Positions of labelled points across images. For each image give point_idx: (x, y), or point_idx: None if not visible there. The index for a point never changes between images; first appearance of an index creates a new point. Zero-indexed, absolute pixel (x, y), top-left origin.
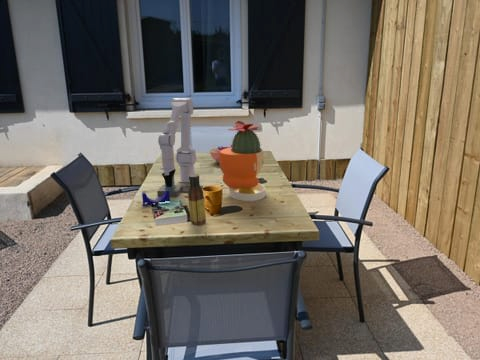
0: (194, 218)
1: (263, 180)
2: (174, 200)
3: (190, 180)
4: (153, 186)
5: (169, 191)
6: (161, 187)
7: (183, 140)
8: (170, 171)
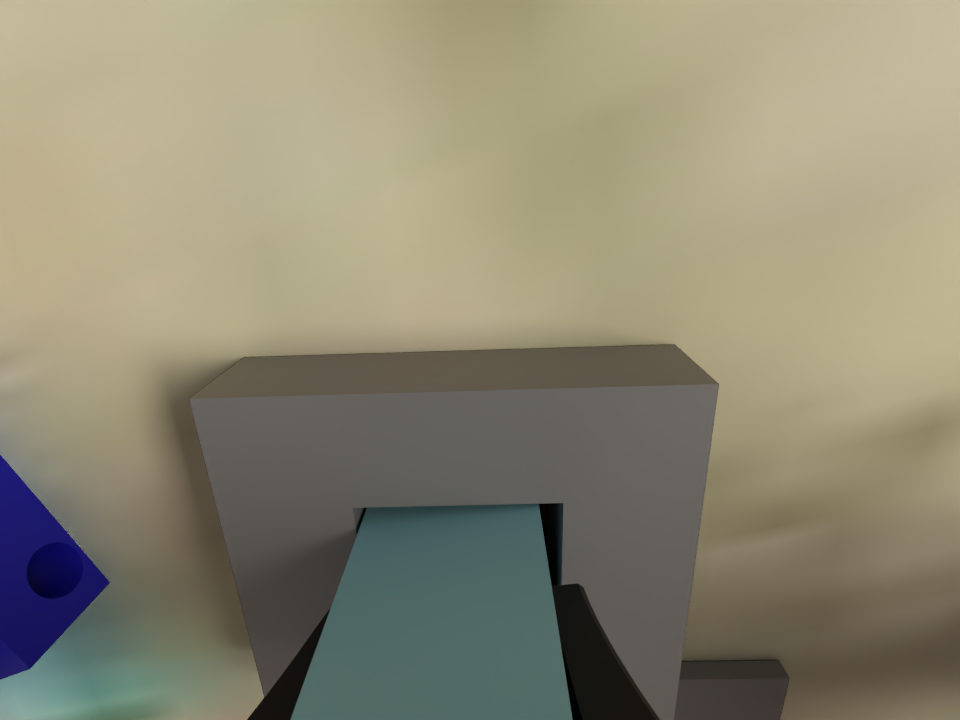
0: None
1: None
2: (116, 652)
3: None
4: (952, 16)
5: (248, 621)
6: (475, 414)
7: None
8: None
